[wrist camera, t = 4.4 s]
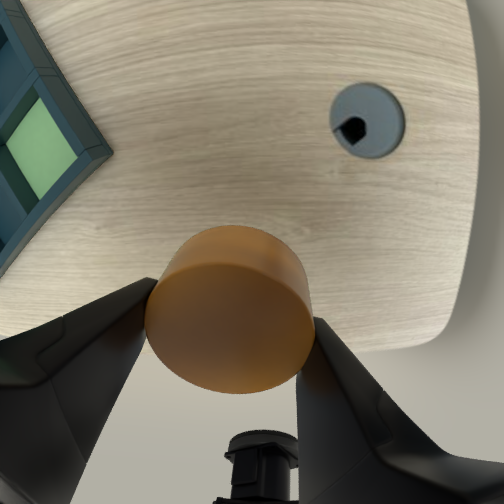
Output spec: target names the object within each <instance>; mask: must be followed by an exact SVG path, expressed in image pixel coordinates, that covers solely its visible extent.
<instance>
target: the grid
mask: <svg viewBox="0 0 504 504" xmlns="http://www.w3.org/2000/svg"><path fill="white" fill-rule="evenodd" d="M112 154H113V151H112V150H111V148H110V147H109V145H108V144H107V142H106V141H105V139H104V138H103V136H102V135H101V133H100V132H99V130H98V129H97V127H96V126H95V124H94V123H93V121H92V120H91V118H90V117H89V115H88V114H87V112H86V111H85V109H84V108H83V106H82V105H81V103H80V102H79V100H78V98H77V97H76V95H75V94H74V92H73V91H72V89H71V87H70V86H69V84H68V83H67V81H66V79H65V78H64V76H63V75H62V73H61V71H60V70H59V68H58V67H57V65H56V63H55V62H54V60H53V58H52V57H51V55H50V53H49V52H48V50H47V48H46V47H45V45H44V43H43V42H42V40H41V38H40V36H39V35H38V33H37V31H36V30H35V28H34V26H33V24H32V22H31V21H30V19H29V17H28V15H27V14H26V12H25V10H24V8H23V6H22V4H21V3H20V1H19V0H0V278H1V277H2V276H3V274H4V273H5V271H6V270H7V269H8V267H9V266H10V265H11V263H12V262H13V261H14V260H15V258H16V257H17V256H18V254H19V253H20V252H21V251H22V249H23V248H24V247H25V246H26V244H27V243H28V242H29V241H30V240H31V238H32V237H33V236H34V235H35V234H36V232H37V231H38V230H39V229H40V228H41V226H42V225H43V224H44V223H45V222H46V221H47V220H48V219H49V217H50V216H51V215H52V214H53V213H54V212H55V211H56V210H57V209H58V207H59V206H60V205H61V204H62V203H63V202H64V201H65V200H66V199H67V198H68V197H69V196H70V195H71V194H72V193H73V192H74V191H75V190H76V189H77V188H78V186H79V185H80V184H81V183H82V182H83V181H84V180H86V179H87V178H88V177H89V176H90V175H91V174H92V173H93V172H94V171H95V170H96V169H97V168H98V167H99V166H100V165H101V164H102V163H103V162H104V161H105V160H106V159H108V158H109V157H110V156H111V155H112Z"/></svg>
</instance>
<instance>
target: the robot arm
mask: <svg viewBox="0 0 504 504" xmlns="http://www.w3.org/2000/svg"><path fill="white" fill-rule="evenodd" d="M157 282H158V280H156V279H152V278H148V277H146V278H143V279H141V280H139V281H137V282H134V283H132V284H130V285H128V286H126V287H123V288H121V289H119V290H117V291H115V292H112V293H110V294H108V295H106V296H104V297H101V298H99V299H97V300H95V301H93V302H91V303H89V304H86V305H84V306H82V307H80V308H78V309H76V310H73V311H71V312H69V313H67V314H65V315H63V317H62V316H60V317H58V318H56V319H54V320H52V321H50V322H47V323H45V324H43V325H41V326H38V327H36V328H33V329H31V330H28V331H25V332H23V333H20V334H17V335H15V336H12V337H9V338H6V339H3V340H1V341H0V504H70V502H71V500H72V497H73V495H74V493H75V490H76V487H77V485H78V483H79V480H80V478H81V476H82V474H83V472H84V469H85V467H86V463H87V462H88V460H89V458H90V455H91V453H92V451H93V449H94V447H95V444H96V442H97V440H98V438H99V436H100V433H101V431H102V429H103V427H104V425H105V423H106V421H107V419H108V416H109V414H110V412H111V410H112V408H113V406H114V404H115V402H116V400H117V398H118V396H119V394H120V392H121V389H122V388H123V385H124V383H125V381H126V379H127V377H128V375H129V373H130V372H131V369H132V367H133V365H134V364H135V362H136V360H137V358H138V356H139V354H140V352H141V349H142V347H143V344H144V342H145V339H146V332H145V327H144V314H145V306H146V303H147V300H148V298H149V296H150V294H151V292H152V291H153V289H154V287H155V286H156V284H157ZM313 320H314V327H315V341H314V344H313V347H312V349H311V351H310V353H309V355H308V357H307V359H306V361H305V363H304V365H303V367H302V369H301V370H300V371H299V372H298V373H297V377H296V401H297V427H298V428H297V429H298V458H296V457H295V456H294V455H292V454H291V453H290V452H289V451H287V450H286V449H285V448H284V447H282V446H281V445H280V444H278V443H277V442H269V443H265V444H261V445H257V446H253V447H248V448H244V449H239V450H235V451H230V452H226V453H225V455H224V457H225V458H226V459H228V460H230V461H231V462H233V471H232V479H231V485H232V489H231V498H230V499H226V498H223V497H217V500H216V501H214V502H213V504H504V463H499V462H491V461H484V460H477V459H470V458H464V457H458V456H454V455H452V454H449V453H447V452H446V451H444V450H442V449H441V448H440V447H439V446H438V445H437V444H436V443H435V442H433V440H431V439H430V438H429V437H428V436H427V435H426V434H425V433H424V432H423V431H422V430H421V429H420V428H419V427H418V426H417V425H416V424H415V423H414V422H413V421H412V420H411V419H410V418H409V417H408V416H407V415H406V414H405V413H404V412H403V411H402V410H401V409H400V408H399V407H398V405H397V404H396V403H395V402H394V401H393V400H392V399H391V397H390V396H389V395H388V394H387V393H386V391H383V388H382V387H381V386H380V385H379V383H378V382H377V381H376V380H375V379H374V378H373V376H372V375H371V374H370V373H369V372H368V370H367V369H366V368H365V367H364V366H363V365H362V363H361V362H360V361H359V360H358V359H357V358H356V356H355V355H354V354H353V353H352V352H351V351H350V349H349V348H348V347H347V346H346V345H345V344H344V343H343V341H342V340H341V339H340V338H339V337H338V336H337V334H336V333H335V332H334V331H333V330H332V329H331V327H330V326H329V325H328V324H327V323H326V322H325V320H324V319H322V318H318V317H313ZM294 468H299V469H298V470H299V500H296V501H290V469H294Z"/></svg>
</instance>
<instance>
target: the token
mask: <svg viewBox="0 0 504 504" xmlns="http://www.w3.org/2000/svg"><path fill="white" fill-rule="evenodd" d="M144 327H145V332H146V336H147V339H148V341H149V344H150V346H151V347H152V349H153V351H154V353H155V354H156V355H157V357H158V358H159V359H160V360H161V361H162V363H163V364H164V365H165V366H166V367H168V368H169V369H170V370H171V371H172V372H174V373H175V374H176V375H178V376H179V377H181V378H182V379H184V380H186V381H188V382H190V383H192V384H194V385H196V386H199V387H202V388H204V389H208V390H211V391H216V392H221V393H230V394H247V393H255V392H261V391H265V390H268V389H271V388H274V387H276V386H279V385H281V384H283V383H284V382H286V381H288V380H289V379H290V378H292V377H293V376H295V375H296V374H297V373H298V372H299V371H300V370H301V369H302V367H303V365H304V363H305V361H306V359H307V357H308V355H309V353H310V351H311V349H312V347H313V344H314V341H315V327H314V320H313V313H312V306H311V299H310V292H309V286H308V280H307V275H306V272H305V269H304V267H303V265H302V263H301V261H300V260H299V258H298V257H297V256H296V254H295V253H294V252H293V251H292V250H291V249H290V248H289V247H288V246H287V245H286V244H285V243H283V242H282V241H281V240H279V239H278V238H276V237H274V236H273V235H271V234H269V233H266V232H264V231H262V230H258V229H255V228H251V227H246V226H235V225H230V226H220V227H215V228H211V229H208V230H205V231H202V232H200V233H198V234H196V235H194V236H193V237H192V238H190V239H189V240H187V241H186V242H185V243H184V244H183V245H182V246H181V247H180V248H179V250H178V251H177V252H176V253H175V255H174V257H173V258H172V260H171V261H170V263H169V265H168V266H167V268H166V269H165V271H164V273H163V274H162V276H161V277H160V279H159V281H158V282H157V284H156V286H155V287H154V289H153V291H152V292H151V294H150V296H149V298H148V300H147V303H146V306H145V314H144Z"/></svg>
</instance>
